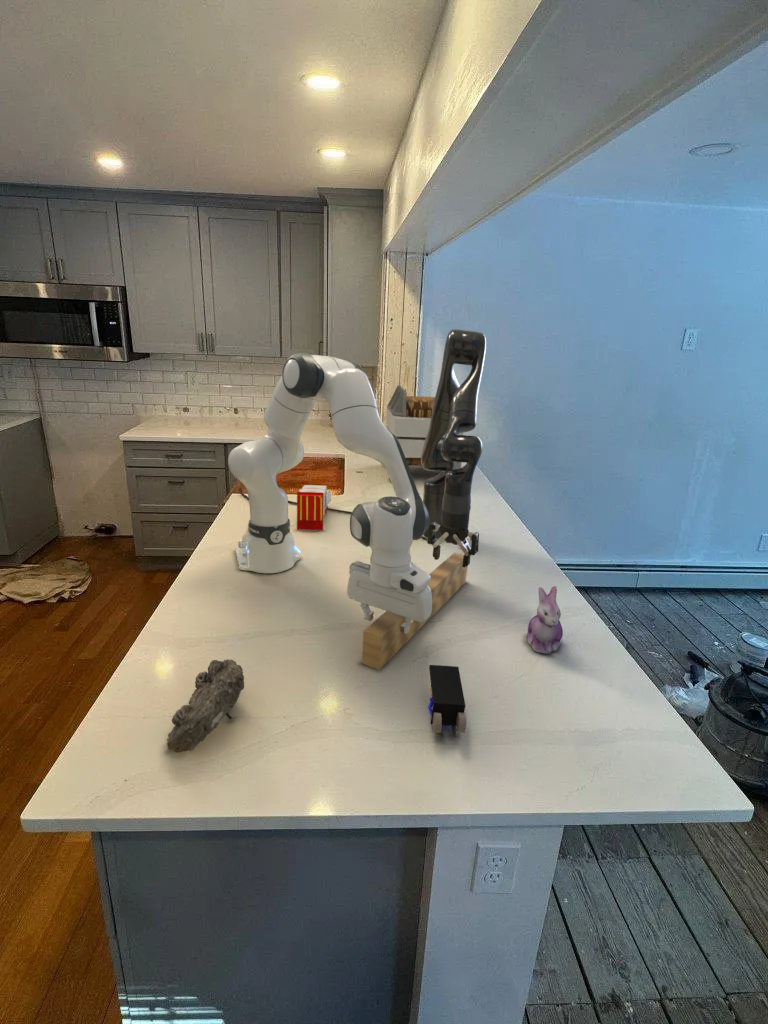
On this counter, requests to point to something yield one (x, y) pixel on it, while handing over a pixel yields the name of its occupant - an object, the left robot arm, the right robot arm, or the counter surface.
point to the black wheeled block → (446, 699)
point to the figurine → (545, 624)
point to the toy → (312, 507)
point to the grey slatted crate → (411, 423)
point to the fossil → (206, 705)
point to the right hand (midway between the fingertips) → (450, 562)
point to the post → (385, 630)
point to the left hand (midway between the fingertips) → (386, 625)
